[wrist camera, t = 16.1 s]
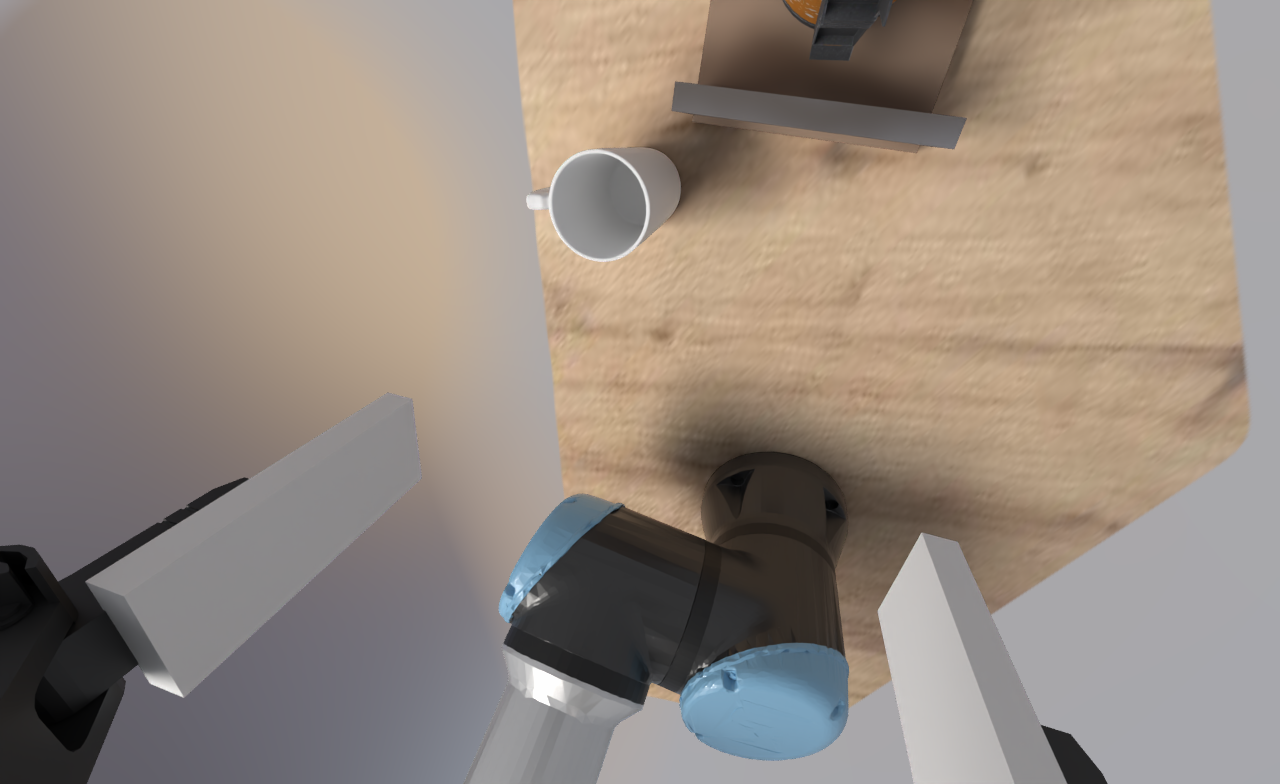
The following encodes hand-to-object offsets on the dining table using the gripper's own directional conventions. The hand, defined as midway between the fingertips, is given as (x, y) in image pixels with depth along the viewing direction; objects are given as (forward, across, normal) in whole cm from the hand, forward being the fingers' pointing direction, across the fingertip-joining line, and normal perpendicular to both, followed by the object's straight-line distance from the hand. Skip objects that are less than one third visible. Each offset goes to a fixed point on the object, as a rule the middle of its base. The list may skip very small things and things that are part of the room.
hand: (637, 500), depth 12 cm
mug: (+33, +10, -4) cm, 35 cm away
